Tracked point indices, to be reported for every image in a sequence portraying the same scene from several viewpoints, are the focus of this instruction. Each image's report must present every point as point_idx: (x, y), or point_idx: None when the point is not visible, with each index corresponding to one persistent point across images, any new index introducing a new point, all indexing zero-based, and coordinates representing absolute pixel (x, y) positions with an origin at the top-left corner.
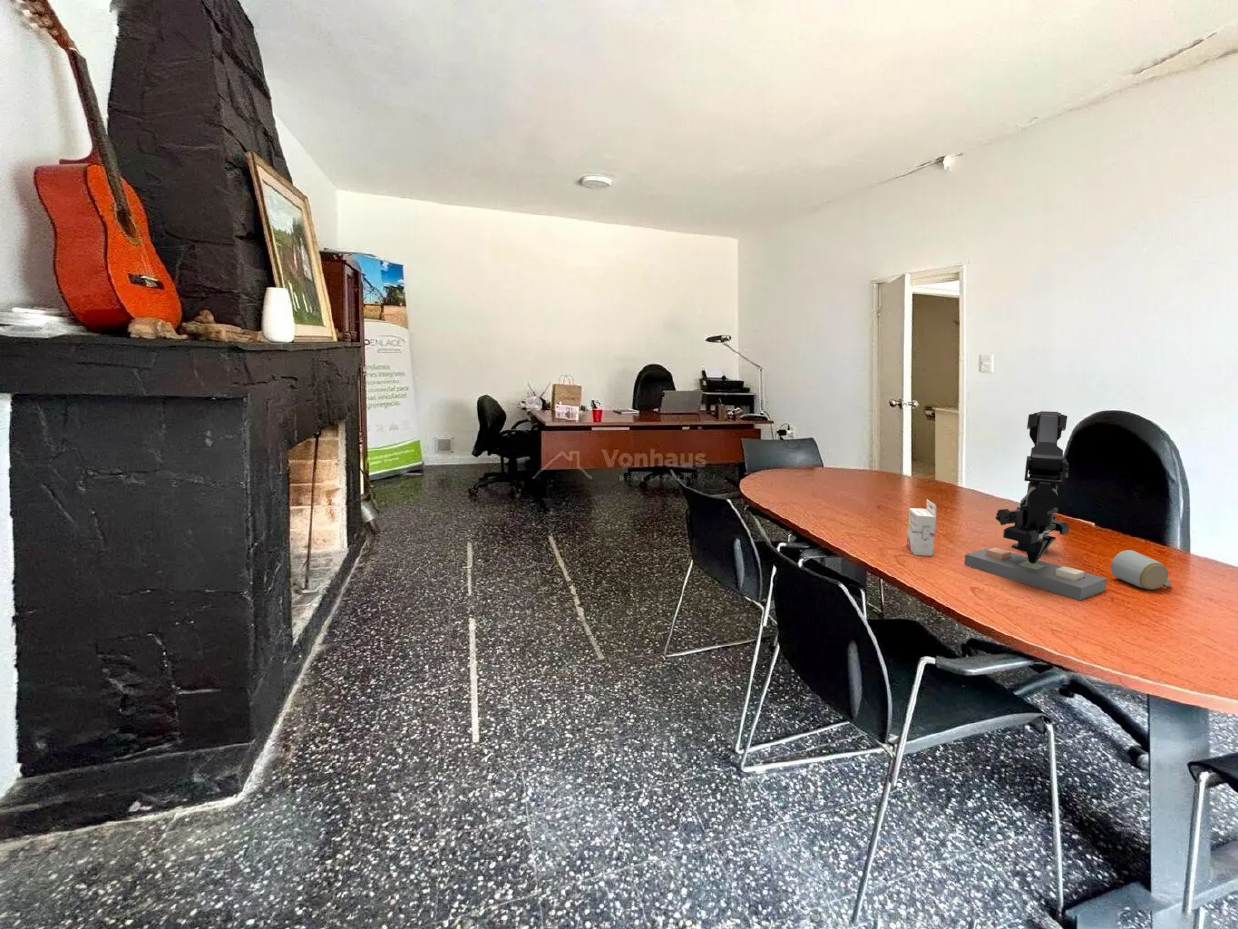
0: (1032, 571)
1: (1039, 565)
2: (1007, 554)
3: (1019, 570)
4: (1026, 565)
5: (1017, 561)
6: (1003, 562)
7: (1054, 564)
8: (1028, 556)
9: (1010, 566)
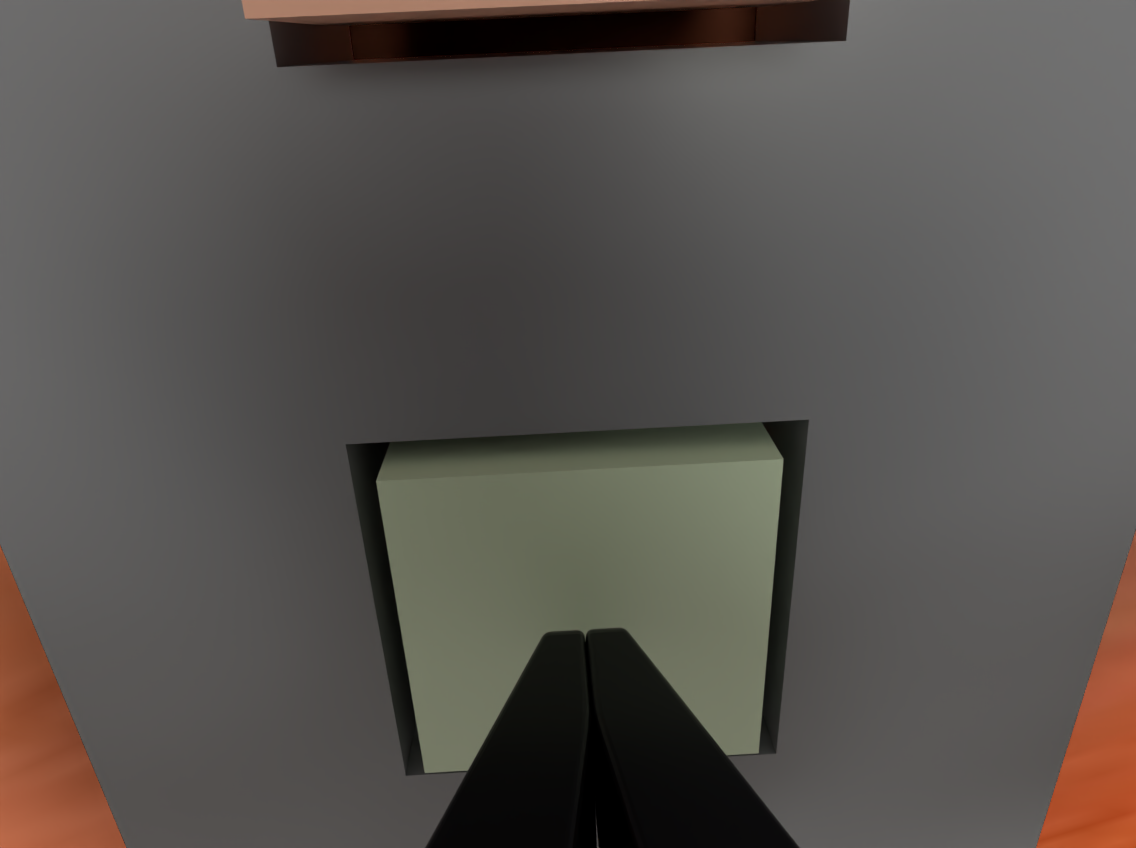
0: (239, 781)
1: None
2: (613, 6)
3: (50, 655)
4: (419, 612)
5: (585, 328)
6: (117, 210)
7: (1069, 731)
8: (487, 756)
9: (35, 468)
